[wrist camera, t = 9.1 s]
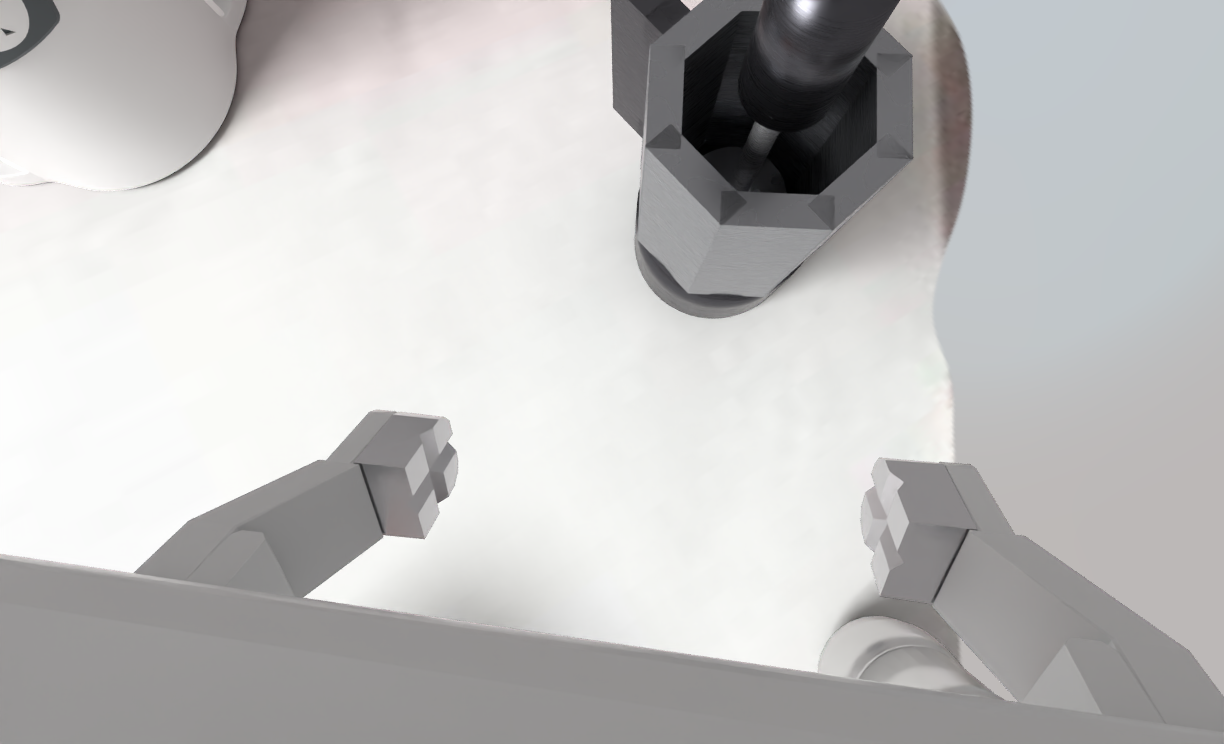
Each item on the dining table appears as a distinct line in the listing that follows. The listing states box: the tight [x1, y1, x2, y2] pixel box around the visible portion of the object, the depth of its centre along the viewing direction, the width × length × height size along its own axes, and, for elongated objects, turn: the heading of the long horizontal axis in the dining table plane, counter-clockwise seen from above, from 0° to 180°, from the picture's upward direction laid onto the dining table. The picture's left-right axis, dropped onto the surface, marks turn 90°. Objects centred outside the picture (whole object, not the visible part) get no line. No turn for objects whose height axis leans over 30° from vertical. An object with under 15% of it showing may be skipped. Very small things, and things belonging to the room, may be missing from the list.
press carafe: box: [611, 0, 914, 318], centre depth 26 cm, size 12×9×14 cm
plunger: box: [703, 0, 900, 193], centre depth 20 cm, size 5×5×14 cm
